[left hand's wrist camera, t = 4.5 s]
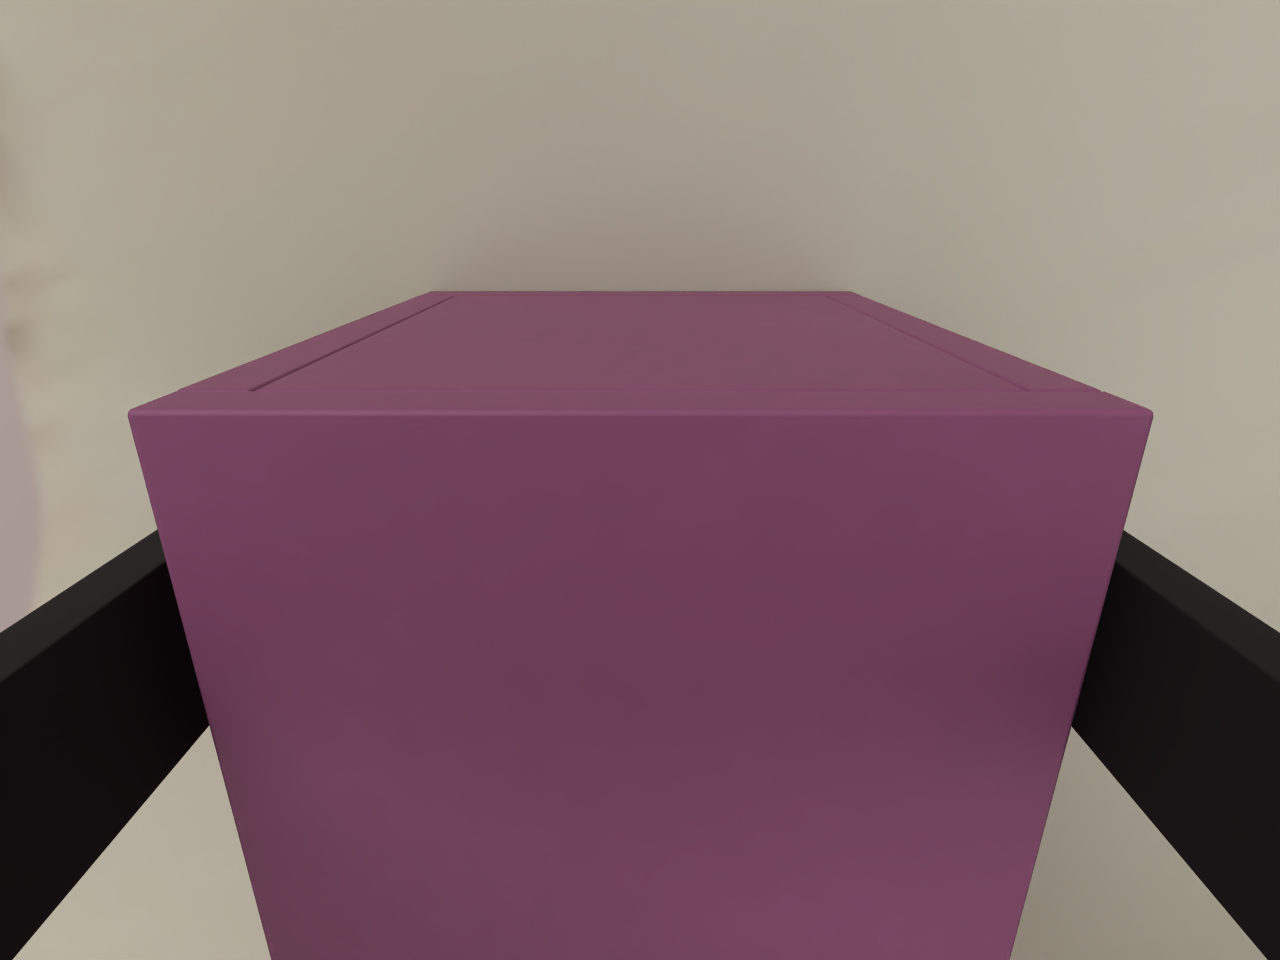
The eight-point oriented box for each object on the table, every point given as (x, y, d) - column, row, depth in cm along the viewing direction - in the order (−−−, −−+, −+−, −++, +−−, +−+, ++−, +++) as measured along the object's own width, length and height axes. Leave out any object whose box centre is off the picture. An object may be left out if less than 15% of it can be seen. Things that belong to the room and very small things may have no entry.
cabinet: (802, 774, 24) (936, 1242, 13) (478, 774, 24) (343, 1241, 13) (852, 291, 18) (1158, 410, 8) (429, 291, 18) (121, 410, 8)
